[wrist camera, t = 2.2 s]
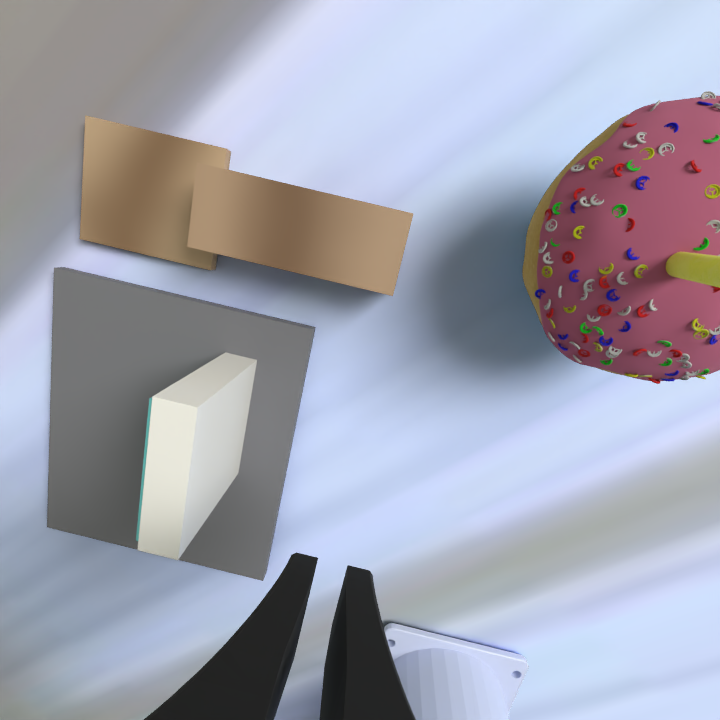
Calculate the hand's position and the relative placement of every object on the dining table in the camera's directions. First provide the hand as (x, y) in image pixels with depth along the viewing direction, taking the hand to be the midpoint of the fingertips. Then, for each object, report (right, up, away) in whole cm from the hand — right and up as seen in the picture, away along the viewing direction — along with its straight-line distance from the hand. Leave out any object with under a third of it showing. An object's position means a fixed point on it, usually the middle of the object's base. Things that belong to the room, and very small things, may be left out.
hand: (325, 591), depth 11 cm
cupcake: (+11, +11, +6) cm, 17 cm away
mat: (-9, +3, +10) cm, 13 cm away
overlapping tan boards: (-4, +13, +7) cm, 15 cm away
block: (-5, +4, +9) cm, 11 cm away
